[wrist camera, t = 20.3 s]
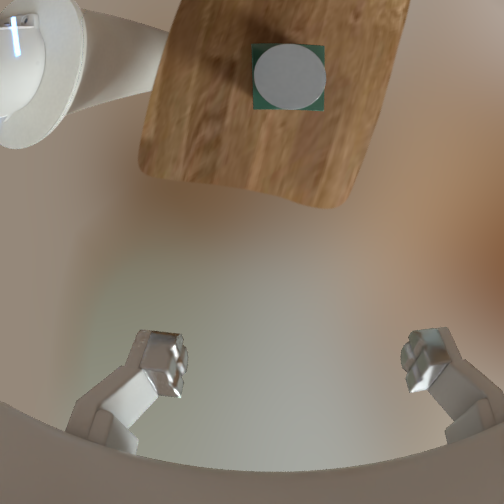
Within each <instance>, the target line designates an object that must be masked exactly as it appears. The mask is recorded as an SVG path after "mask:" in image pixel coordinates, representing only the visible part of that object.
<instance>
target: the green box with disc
mask: <svg viewBox="0 0 504 504" xmlns="http://www.w3.org/2000/svg"><path fill="white" fill-rule="evenodd" d="M251 46H252V78H253V109H254V110H255V109H283V110H312V111H324V88H325V84H326V72H325V53H324V46H320V45H306V44H282V43H257V44H251Z"/></svg>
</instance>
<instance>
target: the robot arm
mask: <svg viewBox="0 0 504 504" xmlns="http://www.w3.org/2000/svg"><path fill="white" fill-rule="evenodd" d="M44 67H45V44H44V40H43V38H42V35H41V33H40V30H39V15H38V14H37V13H31V14H25V15H18V16H13V17H8V18H3V19H0V123H4V122H7V121H8V120H9V118H10V117H11V116H12V114H13V113H14V112H16V111H18V110H20V109H22V108H23V107H25V106H26V105H27V104H28V103H29V102H30V100H31V99H32V98H33V96H34V95H35V93H36V91H37V89H38V87H39V85H40V82H41V79H42V76H43V72H44ZM408 338H409V342H407V343H406V344H405V345H404V346H403V348H402V350H401V364H402V368H403V369H404V370H405V371H406V372H407V375H406V382H407V385H408V388H409V392H416V391H423V390H428V392H429V393H430V394H431V395H432V396H433V397H434V399H435V400H436V401H437V402H438V403H439V404H440V405H441V406H442V408H443V409H444V410H445V411H446V412H447V414H448V415H449V416H450V417H451V418H452V419H453V421H454V422H453V423H452V424H451V425H450V426H448V427H447V428H446V430H445V435H446V439H447V445H444V446H441V447H438V448H435V449H431V450H428V451H424V452H421V453H417V454H413V455H409V456H406V457H401V458H397V459H393V460H387V461H383V462H378V463H372V464H366V465H359V466H353V467H346V468H336V469H328V470H327V469H326V470H315V471H295V472H254V471H235V470H223V469H213V468H204V467H197V466H190V465H183V464H177V463H171V462H166V461H161V460H156V459H152V458H147V457H143V456H139V455H136V451H137V446H138V442H139V440H138V438H137V437H136V436H135V435H134V434H133V433H132V432H131V431H130V430H129V429H128V428H129V427H130V426H131V425H132V424H133V423H134V422H135V421H136V420H137V419H138V418H139V417H140V416H141V415H142V414H143V413H144V412H145V410H146V409H147V408H148V407H149V406H150V405H151V404H152V403H153V402H154V401H155V400H156V399H157V398H158V395H161V396H168V397H177V398H180V397H181V393H182V388H183V384H184V381H183V379H182V375H183V374H185V373H186V371H187V366H188V352H187V349H186V347H185V346H184V345H183V341H184V339H183V337H182V334H176V333H168V332H159V331H150V330H140V331H139V332H138V333H137V335H136V338H135V340H134V343H133V345H132V348H131V351H130V353H129V356H128V358H127V361H126V364H125V366H120V367H119V368H117V369H116V370H115V371H114V372H112V373H111V374H110V375H109V376H107V377H106V378H105V379H104V380H103V381H101V382H100V383H98V384H97V385H96V386H95V387H94V388H92V389H91V390H90V391H88V392H87V393H86V394H85V395H83V396H82V397H81V398H80V399H78V400H77V401H76V404H75V406H74V409H73V411H72V414H71V417H70V420H69V422H68V425H67V428H66V431H65V432H64V431H62V430H59V429H57V428H55V427H52V426H50V425H48V424H46V423H43V422H41V421H39V420H37V419H35V418H33V417H31V416H29V415H27V414H25V413H23V412H21V411H19V410H17V409H15V408H13V407H12V406H10V405H8V404H6V403H4V402H1V401H0V504H504V394H503V391H502V390H501V389H500V388H499V387H497V386H496V385H495V384H494V383H493V382H491V381H490V380H489V379H488V378H487V377H486V376H485V375H483V374H482V373H481V372H480V371H479V370H477V369H476V368H475V367H474V366H473V365H472V364H470V363H469V362H468V361H467V360H462V357H461V355H460V353H459V350H458V348H457V346H456V344H455V341H454V339H453V337H452V335H451V333H450V331H449V329H448V328H447V327H441V328H431V329H423V330H415V331H412V332H411V333H410V335H409V337H408Z"/></svg>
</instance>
